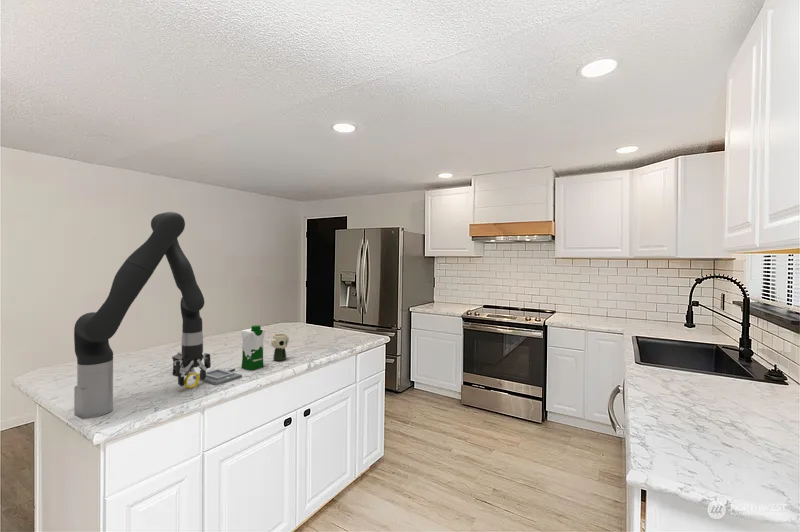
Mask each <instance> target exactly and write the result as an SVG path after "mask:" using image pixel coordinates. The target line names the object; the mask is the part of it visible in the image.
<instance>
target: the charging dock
mask: <svg viewBox="0 0 800 532" xmlns="http://www.w3.org/2000/svg"><path fill="white" fill-rule="evenodd" d="M235 370H236V368H232V369H229V370H226V369H222V368H216V369H212V370H209V371H208V370H207V371H206V377H205V379H204V380H201V379H200V373H198V375H199V382H203V383H207V384H210V385H214V386H219V385H222V384H223V385H224V384H225V383H229V382H233V381H235V380H238V379H242V378H243V374H241V373H237V372H235ZM192 378H193V379H194V380H196V379H197V378H196V375H192Z"/></svg>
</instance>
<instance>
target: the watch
mask: <svg viewBox="0 0 800 532" xmlns="http://www.w3.org/2000/svg"><path fill="white" fill-rule="evenodd" d="M198 374H199V373H198V372H196V371H195V372H194V371H193V372H189V373H188V374H187V375H185V377H184V386H185V387H186V388H187V389H192V388H194V387H197V385H199V382H200V380H199V375H198ZM194 375H196V378H197V379H195V382H194V383H193V384H191V385H189V384H188V381H189V378H191V376H194Z"/></svg>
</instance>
